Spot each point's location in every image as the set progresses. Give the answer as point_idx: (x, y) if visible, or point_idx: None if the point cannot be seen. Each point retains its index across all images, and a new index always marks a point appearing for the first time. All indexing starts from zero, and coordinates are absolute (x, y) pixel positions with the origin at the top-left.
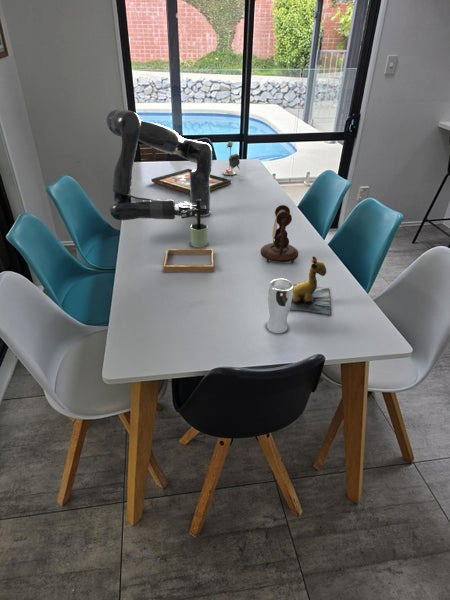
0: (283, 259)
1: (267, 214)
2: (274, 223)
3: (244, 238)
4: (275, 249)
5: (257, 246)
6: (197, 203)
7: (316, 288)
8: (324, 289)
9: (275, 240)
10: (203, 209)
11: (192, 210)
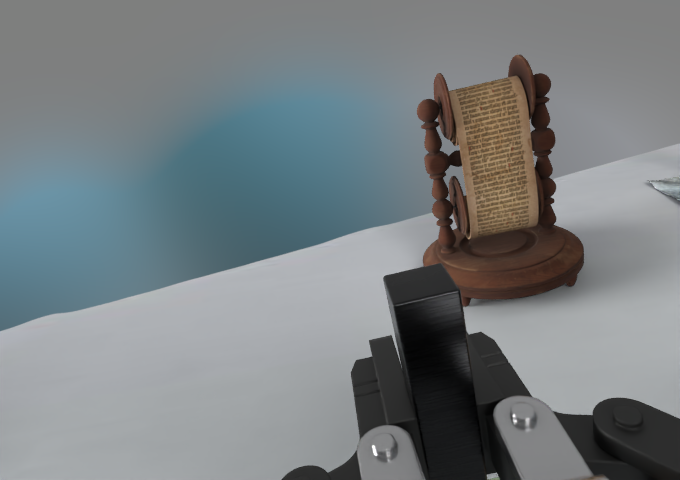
0: (568, 231)
1: (74, 366)
2: (465, 159)
3: (342, 395)
4: (511, 246)
5: None
6: (464, 333)
7: (666, 192)
8: (662, 182)
9: (542, 190)
10: (475, 344)
11: (675, 421)
